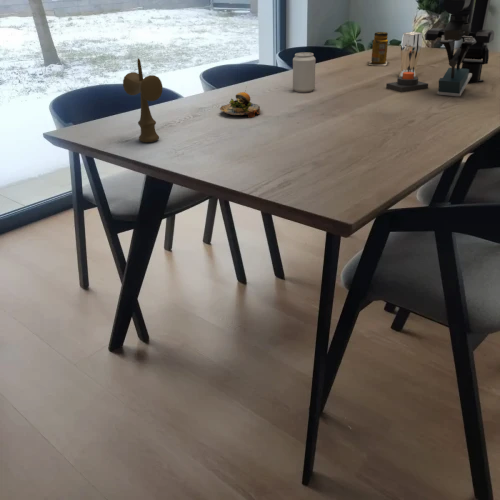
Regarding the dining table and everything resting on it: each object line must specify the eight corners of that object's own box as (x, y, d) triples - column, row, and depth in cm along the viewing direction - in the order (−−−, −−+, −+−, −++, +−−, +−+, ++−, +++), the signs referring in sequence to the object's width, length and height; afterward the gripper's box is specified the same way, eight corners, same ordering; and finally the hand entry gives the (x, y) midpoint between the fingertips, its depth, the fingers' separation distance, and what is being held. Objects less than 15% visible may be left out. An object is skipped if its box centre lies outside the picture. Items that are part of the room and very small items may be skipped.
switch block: (411, 84, 179) (412, 74, 177) (427, 88, 173) (429, 77, 171) (385, 88, 175) (386, 77, 173) (401, 92, 169) (402, 81, 167)
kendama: (149, 147, 127) (138, 62, 118) (129, 139, 134) (117, 58, 124) (169, 141, 131) (160, 58, 121) (148, 134, 137) (138, 54, 127)
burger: (215, 111, 156) (213, 85, 152) (251, 106, 160) (250, 81, 156) (228, 121, 146) (226, 94, 143) (266, 115, 150) (266, 89, 146)
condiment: (387, 62, 218) (390, 31, 212) (386, 65, 211) (389, 34, 205) (369, 62, 220) (372, 31, 214) (368, 65, 213) (370, 34, 207)
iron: (449, 74, 170) (451, 43, 163) (472, 75, 167) (474, 44, 159) (437, 94, 164) (438, 63, 157) (460, 96, 161) (461, 65, 153)
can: (288, 90, 178) (288, 53, 172) (307, 87, 181) (307, 50, 175) (300, 94, 172) (300, 56, 166) (319, 91, 175) (320, 53, 169)
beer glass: (415, 74, 193) (420, 31, 186) (419, 78, 187) (424, 34, 180) (396, 75, 194) (401, 32, 186) (399, 79, 188) (404, 34, 180)
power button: (408, 77, 174) (409, 71, 173) (415, 79, 172) (416, 73, 171) (399, 78, 173) (400, 72, 172) (407, 80, 170) (407, 74, 169)
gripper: (421, 12, 151) (415, 68, 159) (489, 14, 141) (479, 73, 149) (434, 8, 159) (427, 61, 167) (499, 9, 149) (489, 65, 157)
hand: (454, 65), depth 160 cm, fingers closed on iron, 2 cm apart
